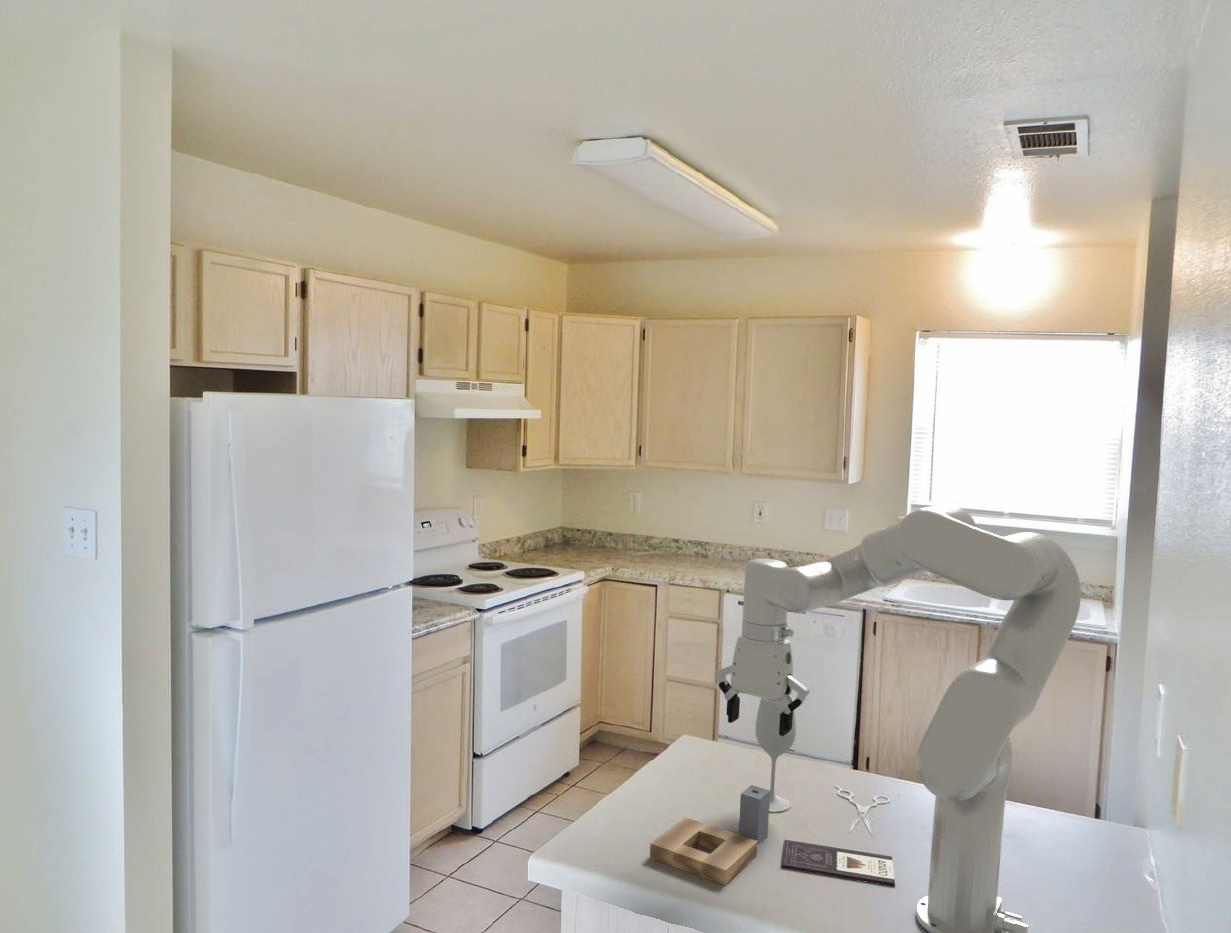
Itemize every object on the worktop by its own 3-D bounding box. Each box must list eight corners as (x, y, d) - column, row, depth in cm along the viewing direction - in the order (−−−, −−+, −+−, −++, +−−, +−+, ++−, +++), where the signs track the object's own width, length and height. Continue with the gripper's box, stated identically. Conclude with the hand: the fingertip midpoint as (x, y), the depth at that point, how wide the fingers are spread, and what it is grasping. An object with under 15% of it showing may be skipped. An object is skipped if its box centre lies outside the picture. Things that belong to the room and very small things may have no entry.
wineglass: (743, 798, 173) (749, 692, 171) (776, 792, 176) (782, 688, 175) (766, 815, 166) (772, 705, 165) (799, 809, 169) (805, 701, 168)
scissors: (889, 793, 178) (891, 837, 159) (889, 797, 178) (891, 842, 159) (835, 784, 181) (830, 827, 162) (834, 788, 181) (830, 831, 162)
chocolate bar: (784, 839, 156) (891, 856, 152) (784, 844, 156) (891, 861, 152) (781, 864, 147) (895, 883, 143) (781, 870, 148) (894, 888, 143)
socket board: (756, 855, 151) (757, 840, 151) (725, 885, 141) (726, 870, 141) (684, 830, 159) (685, 816, 159) (649, 857, 149) (650, 843, 149)
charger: (767, 836, 158) (770, 789, 157) (757, 846, 154) (759, 798, 154) (748, 830, 160) (751, 783, 159) (738, 840, 156) (740, 792, 156)
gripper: (819, 635, 153) (813, 732, 154) (728, 618, 162) (723, 710, 163) (803, 644, 147) (797, 745, 148) (709, 626, 156) (704, 721, 157)
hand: (758, 727), depth 156 cm, fingers open, 9 cm apart
